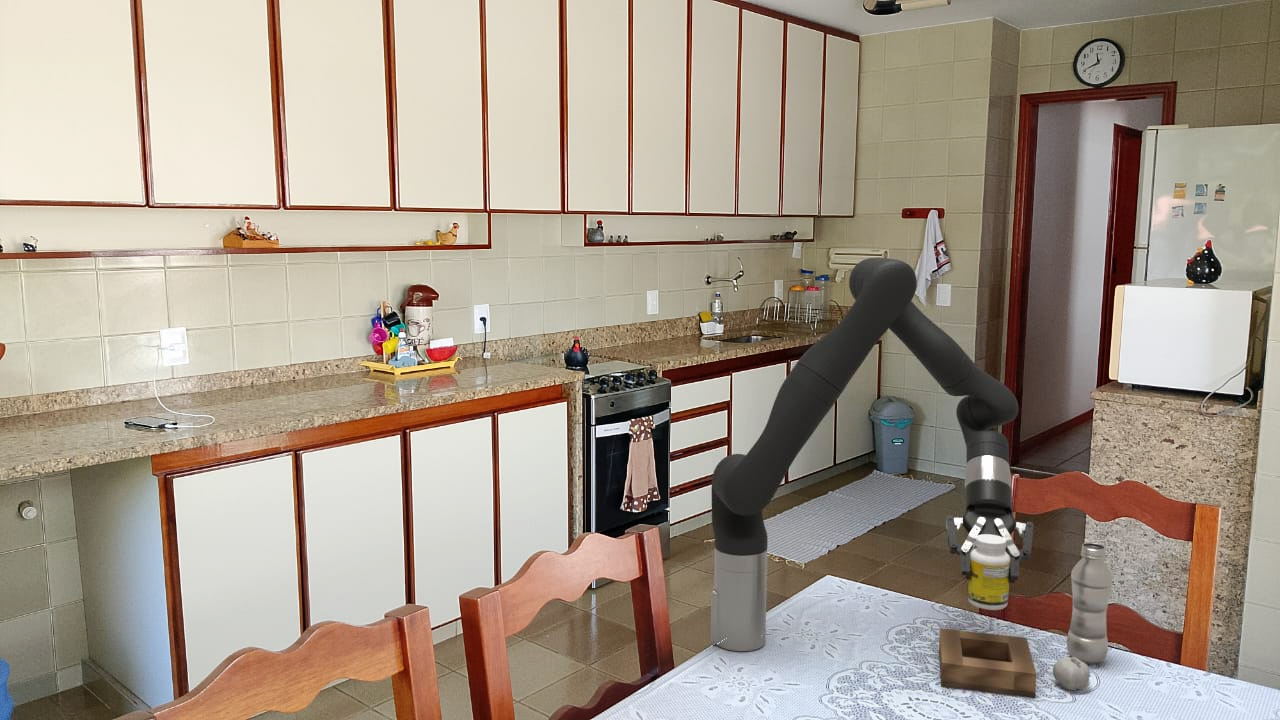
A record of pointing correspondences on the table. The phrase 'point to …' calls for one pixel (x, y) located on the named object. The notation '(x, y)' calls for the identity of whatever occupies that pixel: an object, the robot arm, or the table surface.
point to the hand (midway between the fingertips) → (990, 578)
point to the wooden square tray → (986, 663)
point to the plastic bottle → (1089, 605)
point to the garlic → (1071, 673)
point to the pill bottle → (989, 573)
